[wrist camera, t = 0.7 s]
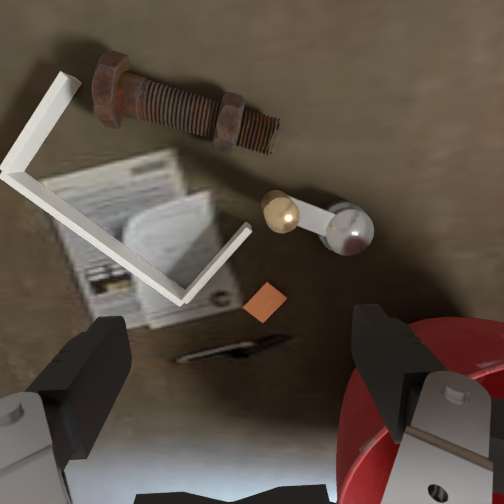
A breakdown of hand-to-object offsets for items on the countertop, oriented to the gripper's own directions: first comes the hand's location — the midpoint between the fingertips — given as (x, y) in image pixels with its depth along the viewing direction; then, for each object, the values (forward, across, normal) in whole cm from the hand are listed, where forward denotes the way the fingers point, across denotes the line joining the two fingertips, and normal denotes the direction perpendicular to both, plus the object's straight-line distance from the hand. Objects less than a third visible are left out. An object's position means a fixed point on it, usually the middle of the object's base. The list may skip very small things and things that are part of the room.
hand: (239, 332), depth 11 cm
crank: (+20, -7, +1) cm, 21 cm away
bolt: (+23, +4, -8) cm, 25 cm away
